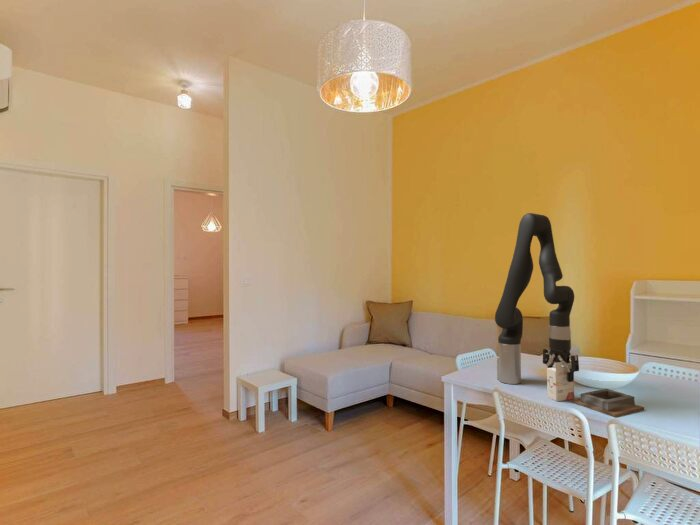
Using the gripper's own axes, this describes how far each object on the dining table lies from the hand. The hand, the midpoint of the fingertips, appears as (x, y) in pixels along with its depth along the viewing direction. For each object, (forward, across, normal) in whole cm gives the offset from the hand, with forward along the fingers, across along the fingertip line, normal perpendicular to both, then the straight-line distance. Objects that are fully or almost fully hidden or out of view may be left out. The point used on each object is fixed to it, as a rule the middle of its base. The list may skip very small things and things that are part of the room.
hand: (560, 378), depth 154 cm
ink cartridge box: (+8, 0, 0) cm, 8 cm away
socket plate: (+8, +13, +8) cm, 17 cm away
